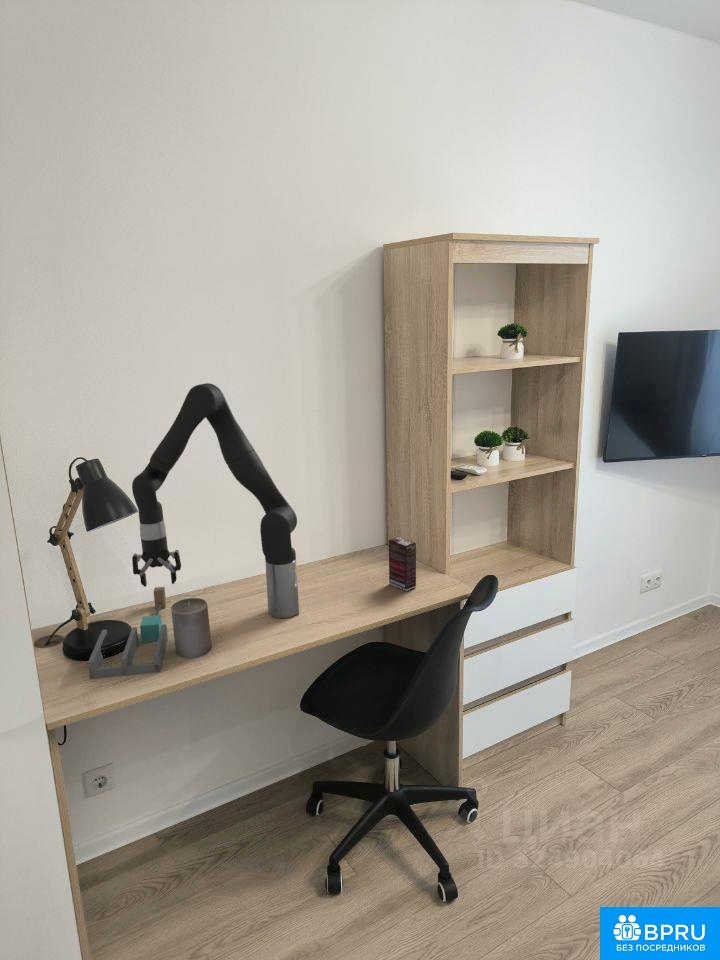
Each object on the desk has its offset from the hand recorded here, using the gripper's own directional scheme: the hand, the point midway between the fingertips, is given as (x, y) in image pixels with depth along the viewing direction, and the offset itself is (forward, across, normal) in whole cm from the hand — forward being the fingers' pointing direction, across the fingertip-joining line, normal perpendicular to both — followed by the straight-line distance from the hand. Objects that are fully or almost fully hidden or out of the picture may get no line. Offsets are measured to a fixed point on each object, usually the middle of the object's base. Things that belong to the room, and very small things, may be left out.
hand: (159, 584), depth 217 cm
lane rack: (+8, +4, +32) cm, 33 cm away
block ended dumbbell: (+8, 0, +11) cm, 13 cm away
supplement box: (+9, -78, -1) cm, 78 cm away
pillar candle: (+9, -12, +30) cm, 34 cm away
